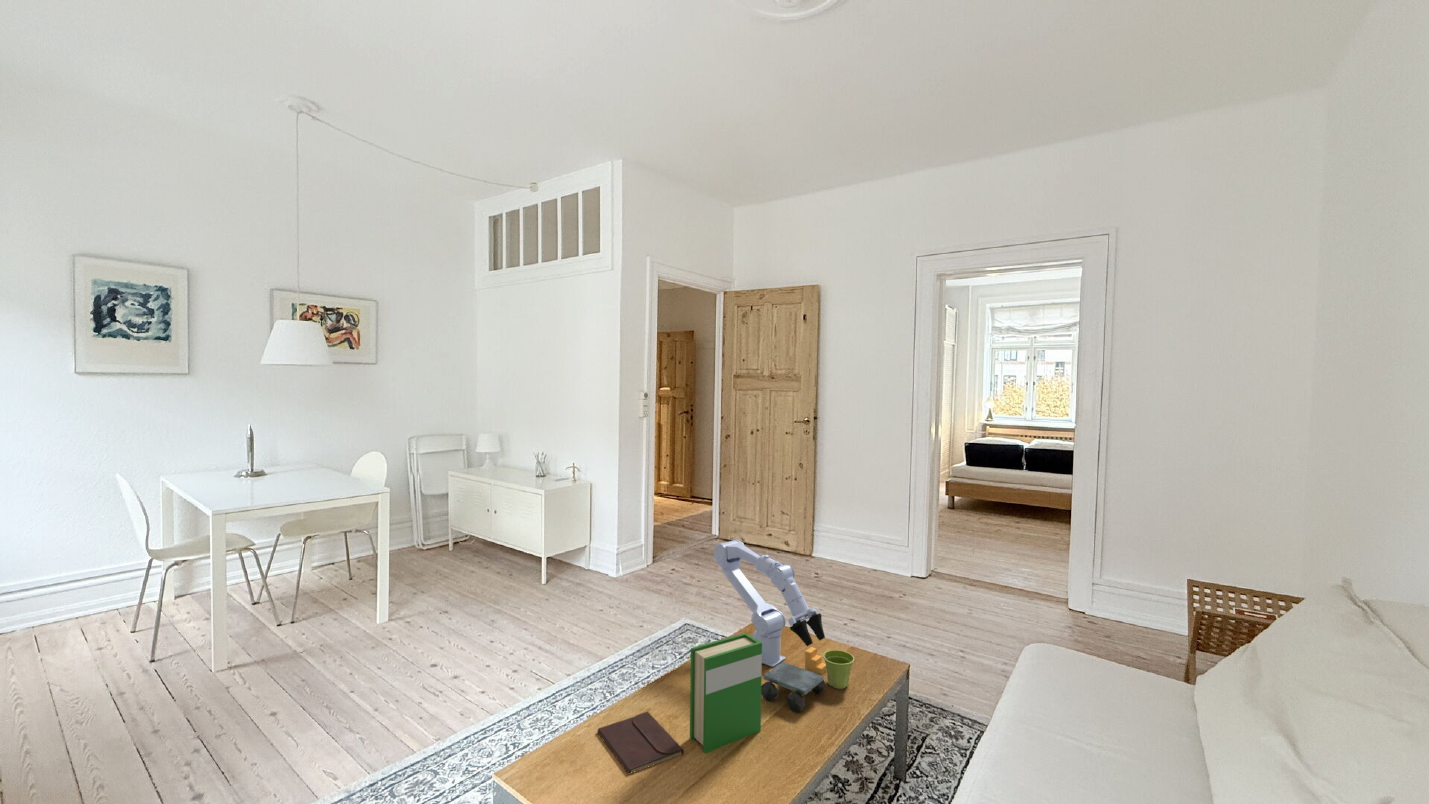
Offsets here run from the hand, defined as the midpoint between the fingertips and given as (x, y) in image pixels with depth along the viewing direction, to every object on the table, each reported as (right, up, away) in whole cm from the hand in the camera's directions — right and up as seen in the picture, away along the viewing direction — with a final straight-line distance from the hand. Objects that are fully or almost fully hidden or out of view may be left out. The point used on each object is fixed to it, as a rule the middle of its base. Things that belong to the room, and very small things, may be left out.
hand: (816, 642), depth 185 cm
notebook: (-51, -14, -32) cm, 62 cm away
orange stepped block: (+1, -12, +8) cm, 15 cm away
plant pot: (+7, -13, -1) cm, 14 cm away
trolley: (-8, -13, -9) cm, 17 cm away
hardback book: (-29, -13, -28) cm, 42 cm away
